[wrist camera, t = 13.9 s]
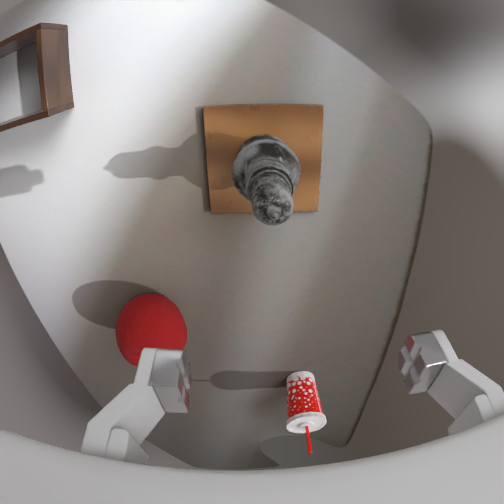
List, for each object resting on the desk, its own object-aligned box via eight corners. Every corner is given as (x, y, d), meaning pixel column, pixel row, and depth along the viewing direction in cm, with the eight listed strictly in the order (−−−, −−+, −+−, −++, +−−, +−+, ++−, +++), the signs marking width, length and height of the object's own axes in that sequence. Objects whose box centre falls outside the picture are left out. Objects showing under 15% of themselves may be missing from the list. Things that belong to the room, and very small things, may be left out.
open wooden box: (-24, 65, 21) (-51, 72, 17) (67, 24, 21) (41, 22, 17) (-15, 134, 26) (-41, 147, 22) (74, 107, 26) (48, 116, 22)
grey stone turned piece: (249, 198, 32) (252, 270, 22) (222, 147, 29) (209, 198, 19) (304, 174, 31) (334, 237, 20) (279, 121, 28) (301, 156, 18)
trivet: (203, 106, 27) (203, 107, 27) (322, 104, 27) (323, 105, 27) (211, 211, 33) (211, 214, 33) (316, 208, 33) (317, 211, 33)
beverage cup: (274, 378, 50) (280, 455, 38) (305, 363, 48) (318, 442, 36) (295, 392, 52) (303, 463, 41) (324, 378, 50) (338, 451, 38)
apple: (118, 279, 38) (92, 337, 29) (188, 282, 38) (175, 345, 30) (132, 329, 43) (115, 386, 34) (193, 334, 43) (185, 394, 35)
